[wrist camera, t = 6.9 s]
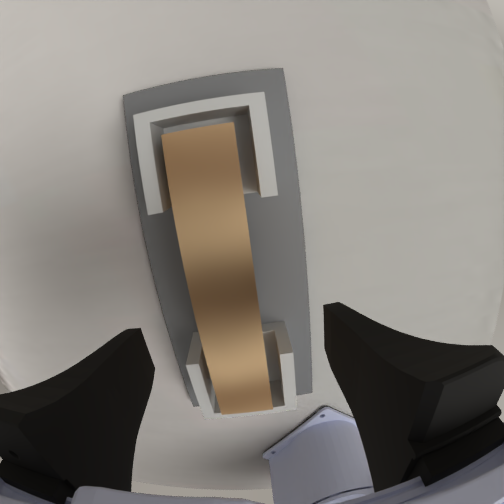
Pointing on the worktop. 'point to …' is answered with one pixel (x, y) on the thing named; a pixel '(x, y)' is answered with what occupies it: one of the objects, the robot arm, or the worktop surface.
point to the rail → (219, 262)
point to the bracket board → (258, 218)
